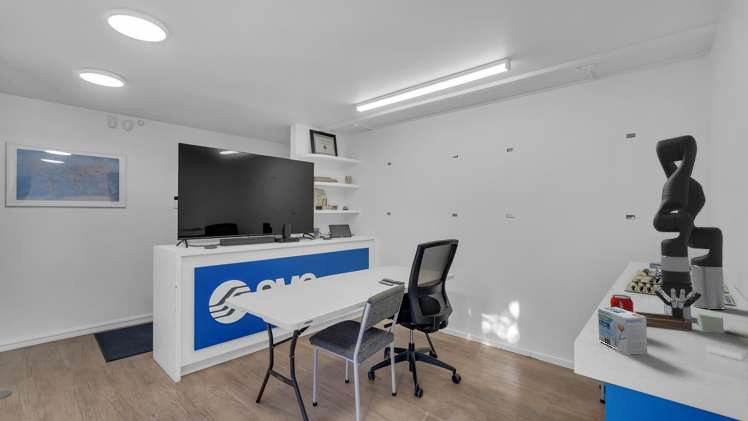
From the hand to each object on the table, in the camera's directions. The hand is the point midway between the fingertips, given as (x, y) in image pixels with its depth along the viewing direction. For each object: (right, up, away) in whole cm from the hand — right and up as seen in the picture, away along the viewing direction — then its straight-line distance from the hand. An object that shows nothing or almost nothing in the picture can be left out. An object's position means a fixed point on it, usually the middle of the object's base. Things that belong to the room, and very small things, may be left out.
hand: (677, 318), depth 115 cm
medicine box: (+9, -3, +10) cm, 14 cm away
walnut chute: (-3, -3, +2) cm, 5 cm away
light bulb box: (-32, -4, -17) cm, 36 cm away
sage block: (+7, -3, -5) cm, 9 cm away
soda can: (-22, -4, -4) cm, 23 cm away
